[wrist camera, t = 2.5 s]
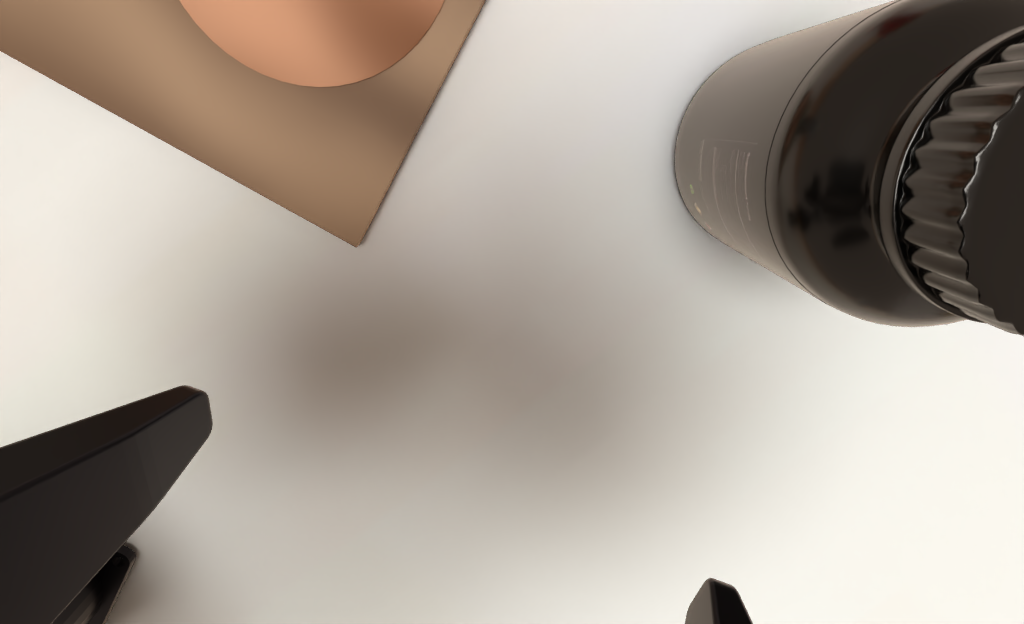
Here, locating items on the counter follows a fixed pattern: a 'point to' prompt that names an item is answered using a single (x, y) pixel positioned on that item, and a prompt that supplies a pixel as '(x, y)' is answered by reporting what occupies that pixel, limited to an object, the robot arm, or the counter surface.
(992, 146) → the supplement bottle
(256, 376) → the counter surface
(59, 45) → the card
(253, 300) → the counter surface
